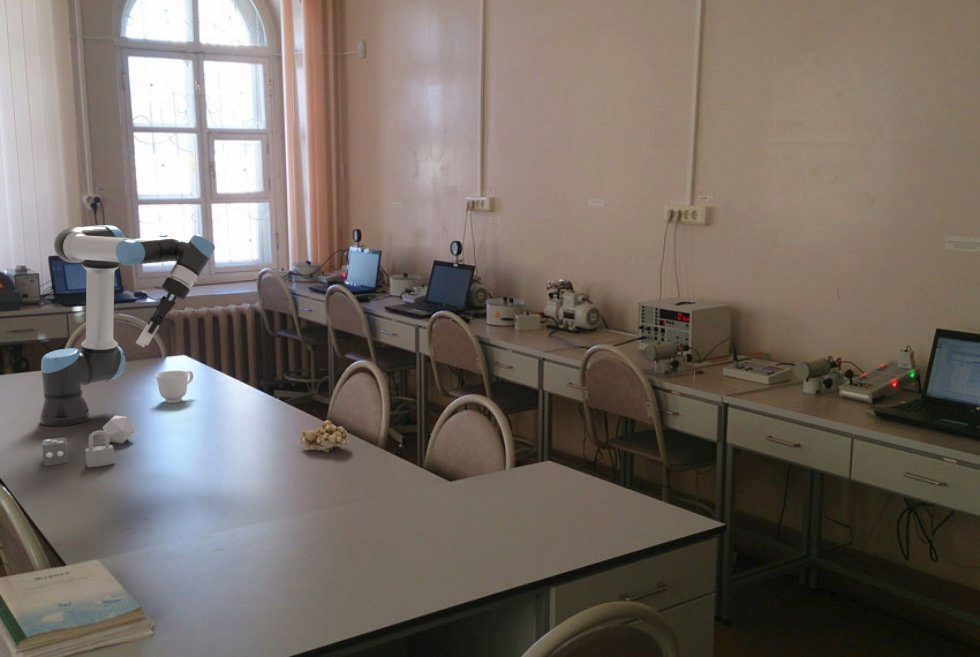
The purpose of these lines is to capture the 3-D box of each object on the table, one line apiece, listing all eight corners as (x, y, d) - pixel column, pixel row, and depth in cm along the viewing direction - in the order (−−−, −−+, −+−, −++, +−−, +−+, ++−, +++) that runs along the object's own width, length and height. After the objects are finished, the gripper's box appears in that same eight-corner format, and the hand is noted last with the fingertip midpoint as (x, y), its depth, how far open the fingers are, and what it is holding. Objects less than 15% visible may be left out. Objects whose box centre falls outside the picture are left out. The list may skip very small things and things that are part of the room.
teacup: (204, 398, 334) (203, 371, 332) (171, 406, 322) (169, 379, 320) (182, 393, 341) (181, 367, 339) (149, 402, 328) (147, 375, 326)
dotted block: (44, 459, 263) (42, 439, 262) (67, 457, 266) (65, 436, 265) (44, 466, 258) (42, 445, 257) (67, 463, 260) (65, 442, 259)
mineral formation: (332, 439, 282) (362, 446, 272) (296, 456, 273) (326, 463, 263) (326, 415, 280) (356, 421, 270) (291, 431, 271) (320, 438, 261)
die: (141, 441, 283) (134, 413, 286) (128, 435, 275) (121, 406, 278) (116, 451, 282) (109, 423, 286) (102, 445, 274) (95, 416, 278)
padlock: (112, 460, 262) (110, 427, 261) (115, 464, 259) (112, 430, 257) (86, 464, 259) (83, 430, 257) (88, 468, 255) (85, 434, 254)
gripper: (196, 285, 263) (157, 348, 258) (185, 293, 286) (149, 352, 280) (172, 271, 260) (132, 335, 255) (163, 280, 283) (126, 339, 278)
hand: (141, 344), depth 268 cm, fingers open, 13 cm apart
